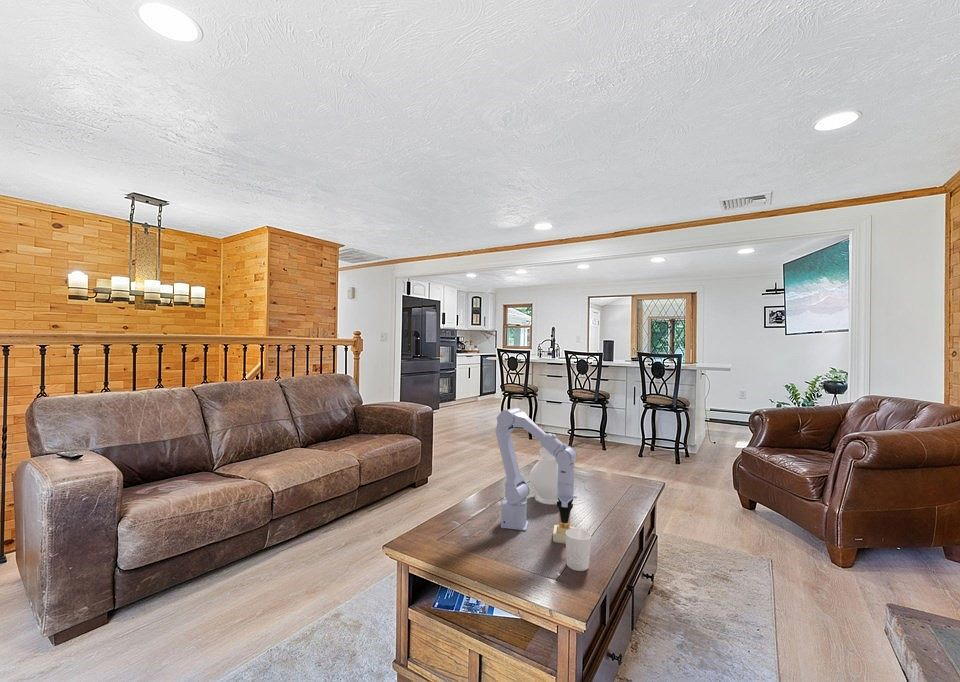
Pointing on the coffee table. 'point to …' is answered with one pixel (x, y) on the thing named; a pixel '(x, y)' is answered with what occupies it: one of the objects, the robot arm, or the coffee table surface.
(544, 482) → the decorative vase
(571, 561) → the white cup
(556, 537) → the cream square tray
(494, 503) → the coffee table surface
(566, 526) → the brown cylinder
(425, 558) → the coffee table surface
